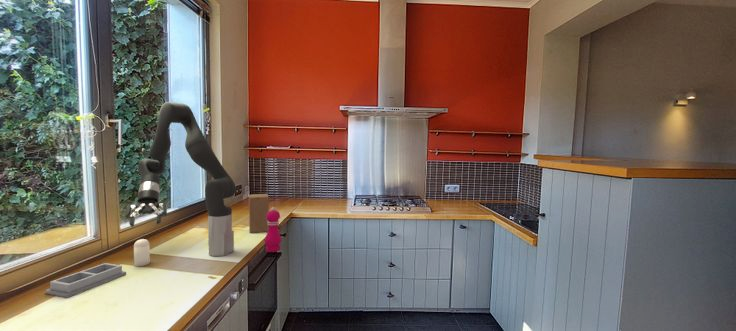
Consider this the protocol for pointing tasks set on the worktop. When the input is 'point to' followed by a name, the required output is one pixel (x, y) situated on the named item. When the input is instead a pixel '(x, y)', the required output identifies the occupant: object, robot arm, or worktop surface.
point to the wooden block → (258, 213)
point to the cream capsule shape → (141, 252)
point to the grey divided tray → (84, 280)
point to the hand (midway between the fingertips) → (145, 224)
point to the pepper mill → (273, 231)
